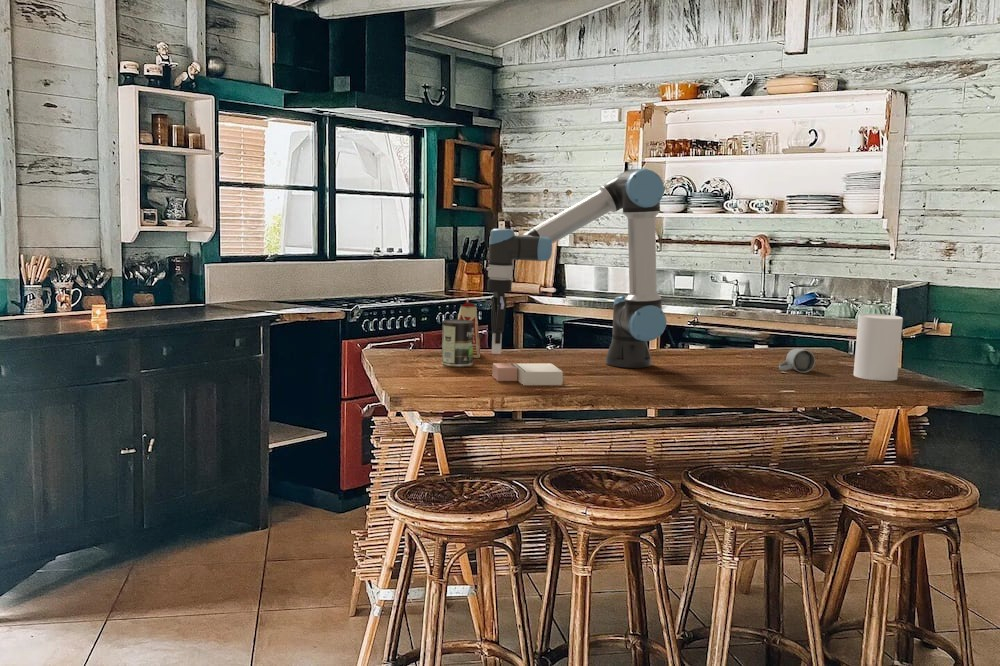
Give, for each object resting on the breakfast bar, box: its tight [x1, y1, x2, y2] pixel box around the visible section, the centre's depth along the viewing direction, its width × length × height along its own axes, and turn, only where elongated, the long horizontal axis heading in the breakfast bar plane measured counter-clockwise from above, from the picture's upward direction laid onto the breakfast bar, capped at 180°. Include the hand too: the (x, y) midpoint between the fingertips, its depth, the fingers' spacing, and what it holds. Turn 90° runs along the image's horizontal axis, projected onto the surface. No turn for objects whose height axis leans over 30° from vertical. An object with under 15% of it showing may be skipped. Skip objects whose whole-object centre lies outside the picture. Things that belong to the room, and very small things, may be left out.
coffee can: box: [441, 318, 474, 367], centre depth 321 cm, size 10×10×14 cm
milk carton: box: [457, 298, 481, 359], centre depth 338 cm, size 9×9×20 cm
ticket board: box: [512, 362, 564, 386], centre depth 297 cm, size 12×14×4 cm
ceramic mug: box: [778, 348, 816, 374], centre depth 329 cm, size 11×8×8 cm
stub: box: [491, 362, 518, 382], centre depth 298 cm, size 6×8×4 cm
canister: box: [853, 313, 904, 382], centre depth 322 cm, size 14×14×20 cm
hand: (496, 353), depth 309 cm, fingers closed
